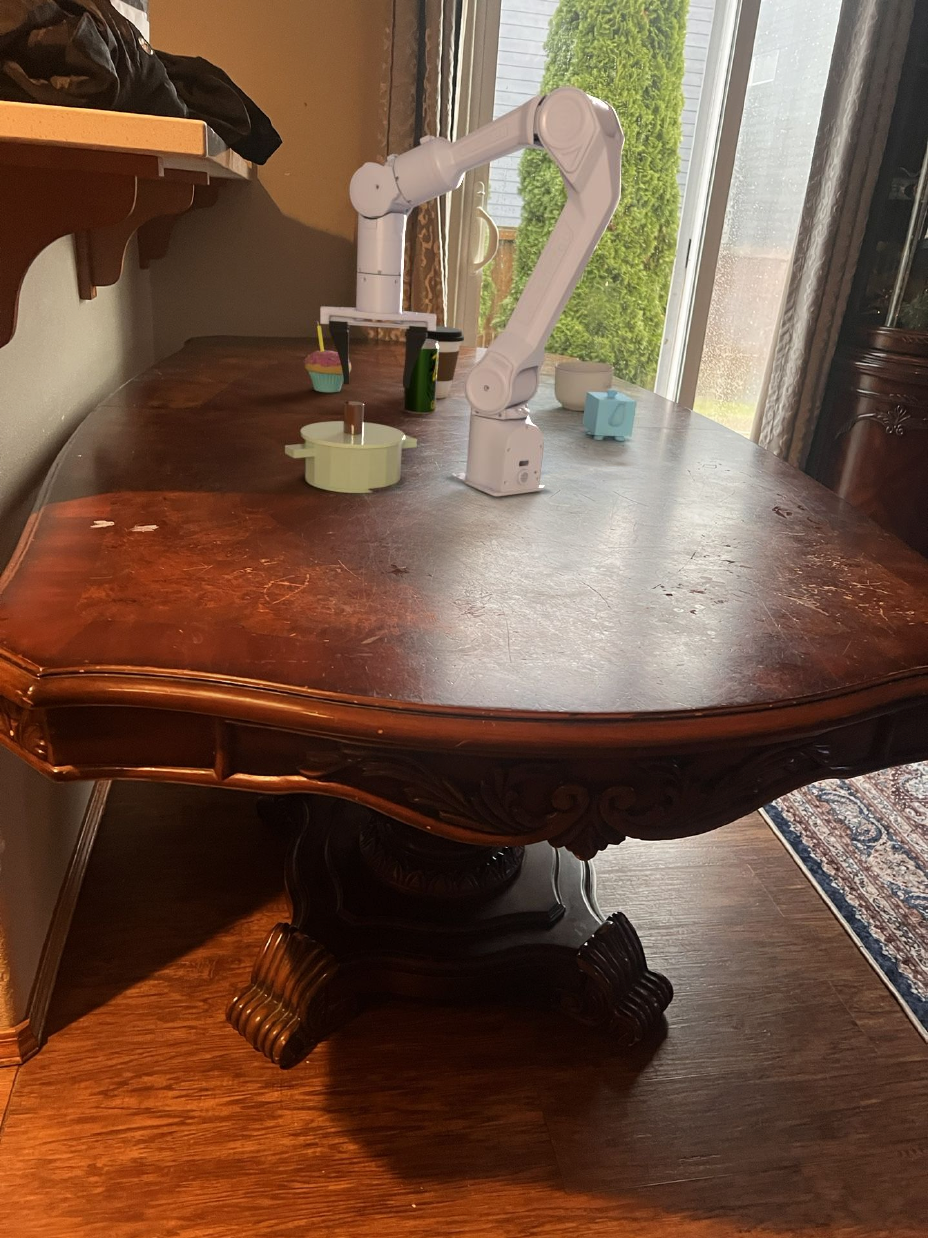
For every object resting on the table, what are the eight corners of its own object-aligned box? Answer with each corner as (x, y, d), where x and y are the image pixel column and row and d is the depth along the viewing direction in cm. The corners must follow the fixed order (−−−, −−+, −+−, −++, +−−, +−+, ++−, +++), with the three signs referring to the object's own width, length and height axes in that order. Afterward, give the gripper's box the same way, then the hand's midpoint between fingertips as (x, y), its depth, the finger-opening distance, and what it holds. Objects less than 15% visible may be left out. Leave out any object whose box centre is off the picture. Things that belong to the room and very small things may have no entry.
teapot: (637, 447, 140) (645, 398, 137) (600, 445, 139) (607, 396, 135) (613, 430, 150) (620, 384, 147) (579, 428, 149) (585, 383, 146)
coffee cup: (438, 403, 161) (442, 333, 156) (390, 393, 166) (393, 326, 162) (471, 396, 170) (476, 330, 165) (424, 387, 175) (427, 323, 170)
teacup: (612, 416, 162) (618, 370, 159) (552, 411, 162) (557, 366, 158) (602, 402, 175) (608, 360, 171) (547, 398, 174) (551, 355, 171)
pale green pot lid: (424, 449, 108) (426, 410, 106) (331, 457, 101) (332, 416, 99) (371, 426, 117) (372, 391, 115) (282, 433, 110) (282, 395, 108)
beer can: (404, 416, 148) (407, 341, 144) (401, 409, 153) (405, 336, 148) (436, 417, 149) (440, 343, 144) (433, 411, 154) (437, 338, 149)
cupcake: (297, 391, 162) (297, 321, 157) (312, 384, 169) (313, 317, 165) (343, 396, 161) (345, 326, 156) (356, 388, 168) (358, 322, 164)
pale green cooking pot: (435, 484, 111) (438, 441, 109) (312, 499, 102) (312, 453, 100) (386, 462, 120) (388, 422, 118) (268, 474, 110) (267, 430, 108)
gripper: (435, 275, 116) (429, 382, 121) (322, 267, 114) (321, 376, 119) (440, 279, 109) (433, 392, 115) (320, 270, 107) (319, 385, 113)
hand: (376, 384), depth 117 cm, fingers open, 7 cm apart
